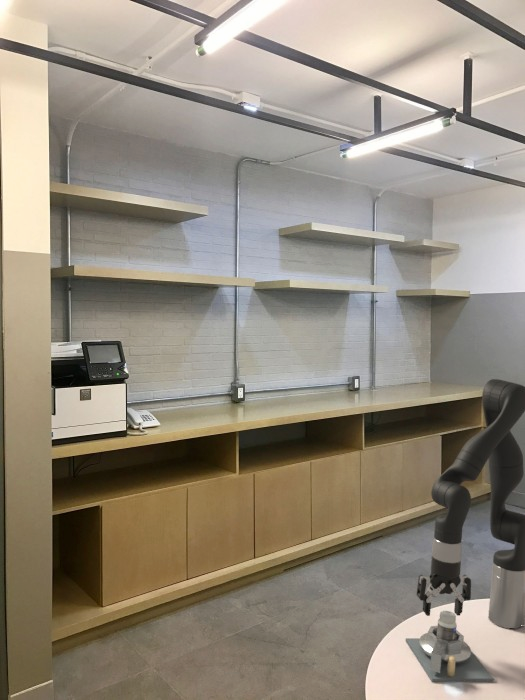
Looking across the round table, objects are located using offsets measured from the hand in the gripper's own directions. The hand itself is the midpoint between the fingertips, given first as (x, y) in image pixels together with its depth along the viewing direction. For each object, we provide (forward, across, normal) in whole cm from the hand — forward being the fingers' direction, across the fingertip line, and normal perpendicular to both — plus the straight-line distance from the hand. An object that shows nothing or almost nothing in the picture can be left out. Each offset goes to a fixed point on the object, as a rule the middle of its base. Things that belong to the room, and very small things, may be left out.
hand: (442, 614), depth 155 cm
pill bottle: (+7, 0, -4) cm, 8 cm away
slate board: (+9, -1, -6) cm, 11 cm away
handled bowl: (+7, -2, -6) cm, 10 cm away
